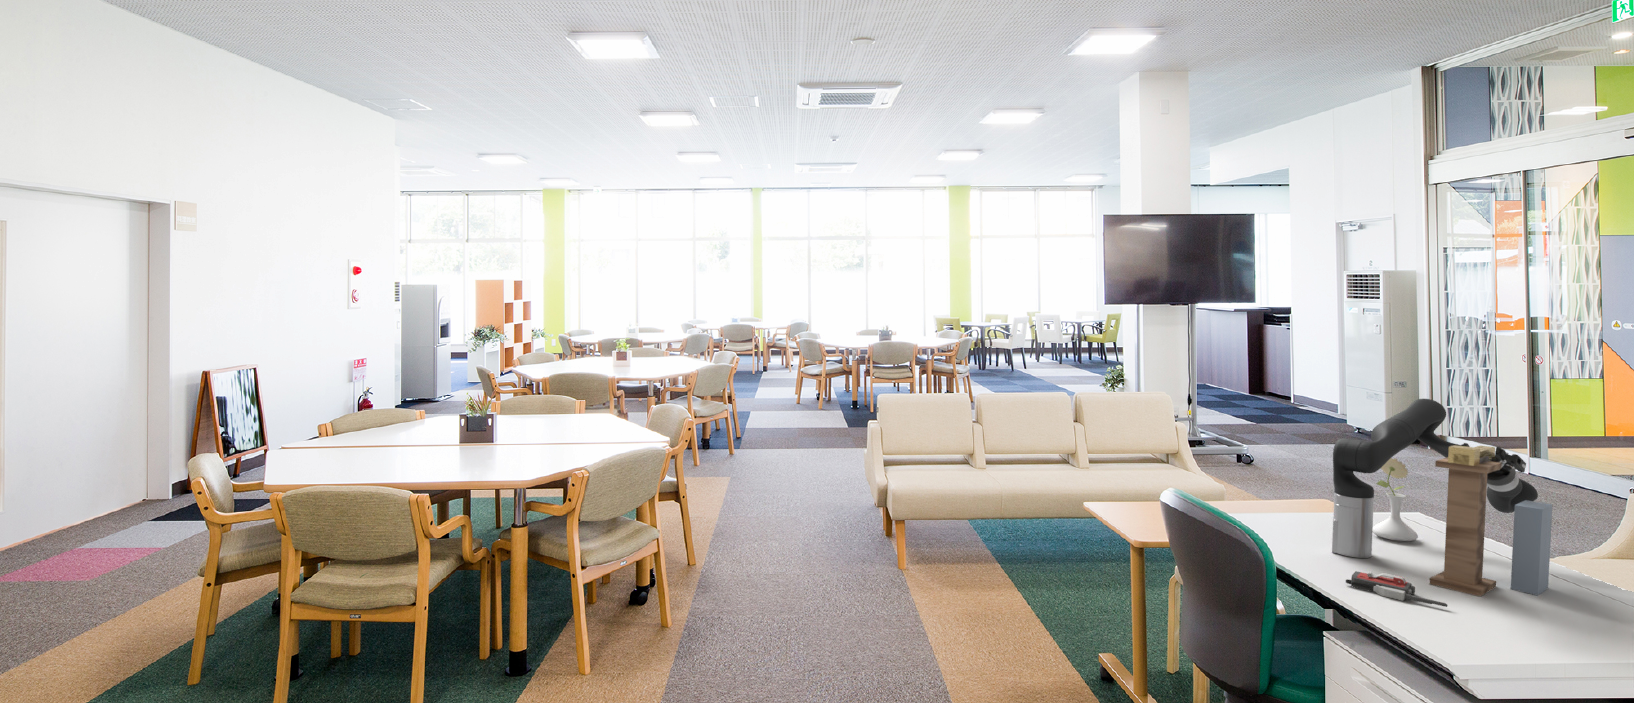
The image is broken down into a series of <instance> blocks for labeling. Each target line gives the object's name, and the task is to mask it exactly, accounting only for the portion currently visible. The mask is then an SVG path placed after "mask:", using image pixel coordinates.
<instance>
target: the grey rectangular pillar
mask: <svg viewBox="0 0 1634 703" xmlns="http://www.w3.org/2000/svg"><path fill="white" fill-rule="evenodd" d="M1513 514H1514V515H1513V534H1512V535H1513V536H1512V555H1511V572H1510V590H1514V591H1518V592H1522V593H1526V594H1531V595H1535V596H1539V595H1541V594H1542V593H1543V592H1544V591H1546V590H1548V589H1549V580H1550V579H1549V577H1550V560H1551V559H1550V558H1551V544H1552V543H1551V541H1552V522H1553V520H1552V519H1553V504H1552V503H1551V504H1550V503H1547V502H1546V503H1545V502H1540V501H1528V500H1525V501H1523V502H1520V503H1518V504H1516V505H1515V511H1514V512H1513Z"/></svg>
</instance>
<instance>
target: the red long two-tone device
mask: <svg viewBox="0 0 1634 703" xmlns="http://www.w3.org/2000/svg"><path fill="white" fill-rule="evenodd" d="M1345 583H1346V584H1348V585H1350V586H1351V587H1352V586H1353V587H1352V588H1354V587H1355V589H1358V590H1359V589H1360V590H1363V591H1367V590H1369V591H1368V592H1373V593H1375V594H1378V595H1380V596H1382V597H1385V598H1390V599H1393V600H1398V601H1403V602H1404V601H1405V600H1409V601H1414V602H1420V603H1423V604H1429V605H1437V606H1441V607H1446V608H1447V607H1449V606H1448V603H1446V602H1442V601H1439V600H1438V601H1437V600H1432V599H1429V598H1423V597H1419V596H1416V595H1415V592H1416V587H1415V585H1413V584H1412V583H1411V582H1408V581H1406V579H1405V577H1403V576H1400V575H1395V574H1390V573H1385V572H1383V573H1380V574H1373V571H1370V570H1369V571H1368V572H1367V573H1365V572H1362V571H1356V570H1355V571H1354V572H1353V573H1352V574H1351V579H1345Z"/></svg>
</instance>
